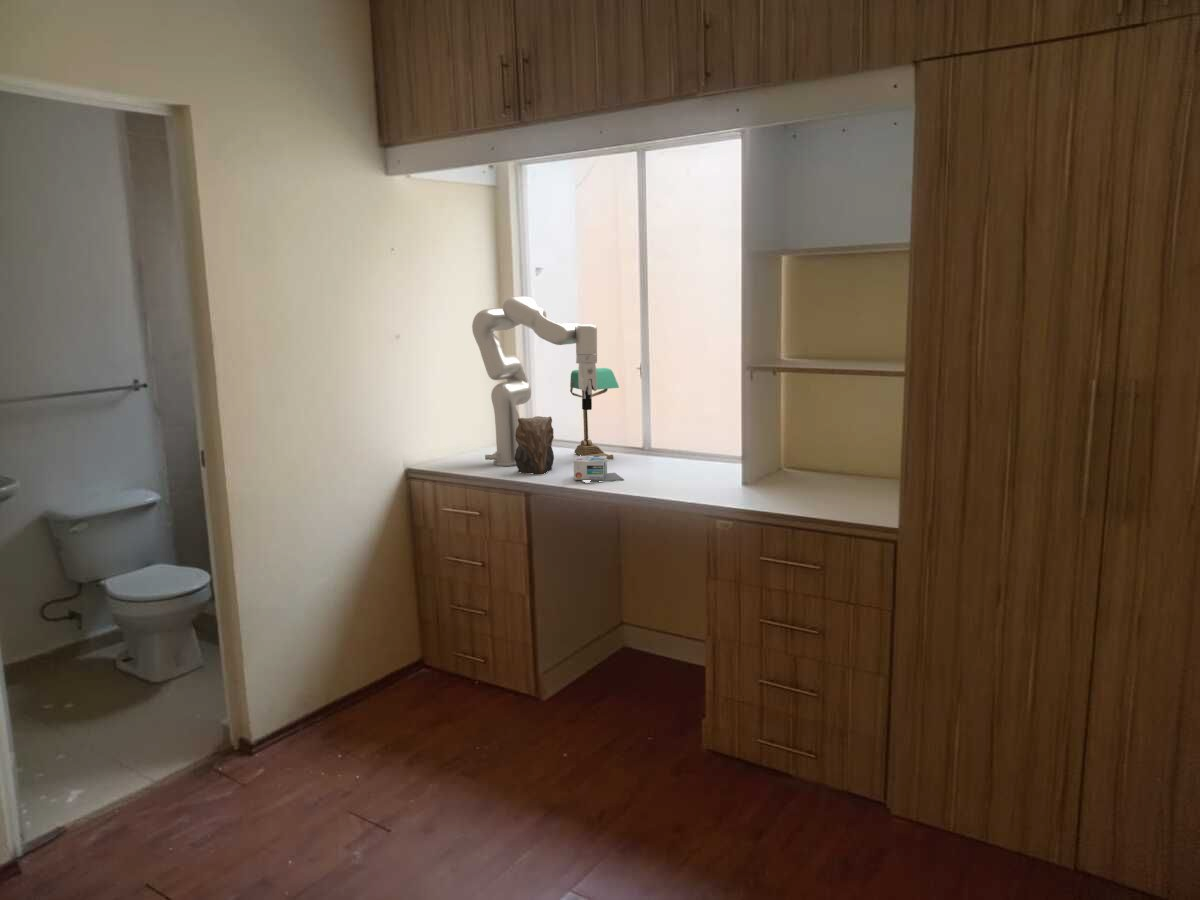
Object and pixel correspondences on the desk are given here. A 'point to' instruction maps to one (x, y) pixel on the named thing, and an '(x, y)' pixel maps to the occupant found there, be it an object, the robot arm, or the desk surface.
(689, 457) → the desk surface
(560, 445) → the desk surface
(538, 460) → the owl
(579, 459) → the light bulb box
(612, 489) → the desk surface
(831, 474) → the desk surface
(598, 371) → the banker's lamp
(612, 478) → the mat
